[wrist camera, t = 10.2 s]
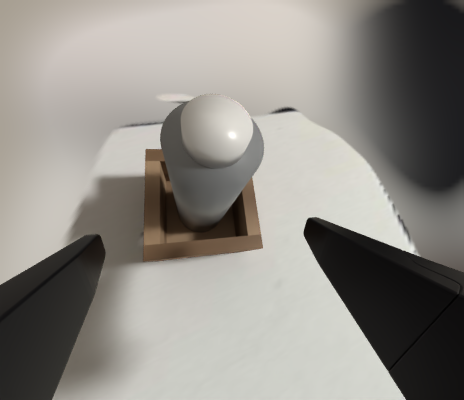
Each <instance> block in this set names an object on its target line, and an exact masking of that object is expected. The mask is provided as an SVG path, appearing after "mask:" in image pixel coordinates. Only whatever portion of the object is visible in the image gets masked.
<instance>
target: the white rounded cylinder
mask: <svg viewBox="0 0 464 400" xmlns="http://www.w3.org/2000/svg"><path fill="white" fill-rule="evenodd" d="M160 141H161V148H162V152H163V155H164V159H165V163H166V167H167V171H168V175H169V178H170V182H171V186H172V190H173V194H174V198H175V202H176V205H177V209H178V213H179V217H180V220H181V222H182V223H183V224H184V226H186V227H187V228H188V229H190V230H192V231H195V232H206V231H209V230H211V229H213V228H214V227H216V226H217V224H218V223H219V222H220V220H221V219H222V218H223V216H224V215H225V213H226V212H227V211H228V209H229V208H230V207H231V205H232V204H233V202H234V201H235V200H236V198H237V197H238V195H239V194H240V193H241V191H242V190H243V188H244V187H245V186H246V184H247V183H248V182H249V180H250V179H251V177H252V176H253V175H254V173H255V172H256V170H257V169H258V167H259V166H260V164H261V161H262V158H263V153H264V143H263V138H262V135H261V132H260V130H259V128H258V126H257V125H256V123H255V122H254V121H253V119H252V118H251V117H250V115H249V114H248V112H247V111H246V109H245V108H243V106H242V105H240V104H239V103H238V102H236V101H235V100H233V99H231V98H229V97H226V96H223V95H218V94H206V95H201V96H198V97H196V98H194V99H192V100H191V101H188V102H185V103H183V104H181V105H179V106H178V107H177V108H175V109H174V110H173V111H172V112H171V113H170V114H169V115H168V116H167V118H166V119H165V121H164V123H163V126H162V129H161V134H160Z"/></svg>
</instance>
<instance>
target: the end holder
mask: <svg viewBox="0 0 464 400" xmlns="http://www.w3.org/2000/svg"><path fill="white" fill-rule="evenodd" d="M261 248H263V245H262V238H261V232H260V225H259V219H258V212H257V206H256V199H255V193H254V186H253V180H252V177H251V179H250V180H249V182H248V183H247V184H246V186H245V187H244V188H243V190H242V191H241V193H240V194H239V195H238V197H237V198H236V200H235V201H234V202H233V204H232V205H231V207H230V208H229V209H228V211H227V212H226V213H225V215H224V216H223V218H222V219H221V220H220V222H219V223H218V224H217V226H216V227H214V228H213V229H211V230H209V231H206V232H195V231H192V230H190V229H188V228H187V227H186V226H184V224H183V223H182V222H181V220H180V217H179V213H178V209H177V205H176V202H175V198H174V194H173V190H172V186H171V182H170V178H169V175H168V171H167V167H166V163H165V159H164V155H163V152H162V149H146V157H145V203H144V249H143V262H144V261H163V260H172V259H180V258H189V257H198V256H207V255H216V254H225V253H234V252H243V251H249V250H255V249H261Z"/></svg>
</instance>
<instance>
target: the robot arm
mask: <svg viewBox="0 0 464 400" xmlns="http://www.w3.org/2000/svg"><path fill="white" fill-rule="evenodd" d="M304 237H305V239H306V241H307V243H308V245H309V247H310V249H311V250H312V252H313V254H314V256H315V258H316V260H317V262H318V264H319V265H320V267H321V268H322V270H323V272H324V273H325V275H326V276H327V278H328V279H329V281H330V282H331V284H332V285H333V287H334V289H335V290H336V292H337V293H338V295H339V296H340V298H341V299H342V301H343V302H344V304H345V306H346V307H347V309H348V310H349V312H350V313H351V315H352V316H353V318H354V319H355V321H356V323H357V324H358V326H359V327H360V329H361V330H362V332H363V333H364V335H365V336H366V338H367V340H368V341H369V343H370V344H371V346H372V347H373V349H374V350H375V352H376V354H377V355H378V357H379V358H380V360H381V361H382V363H383V364H384V366H385V367H386V369H387V370H388V371H389V374H390V375H391V377H392V379H393V380H394V382H395V383H396V385H397V386H398V388H399V389H400V391H401V393H402V394H403V396H404V397H405V399H406V400H464V272H461V271H458V270H455V269H452V268H449V267H447V266H444V265H441V264H438V263H435V262H433V261H430V260H427V259H424V258H422V257H419V256H417V255H414V254H411V253H409V252H406V251H402V250H401V249H398V248H396V247H393V246H390V245H388V244H385V243H383V242H380V241H377V240H375V239H372V238H369V237H367V236H364V235H362V234H359V233H356V232H354V231H351V230H349V229H346V228H343V227H341V226H338V225H336V224H333V223H330V222H328V221H325V220H323V219H320V218H317V217H312V218H308V219H307V222H306V225H305V229H304ZM104 259H105V249H104V245H103V242H102V239H101V236H100V235H98V234H93V235H85V236H84V237H82V238H80V239H78V240H77V241H75V242H73V243H72V244H70V245H68V246H66V247H65V248H63V249H61V250H60V251H58V252H56V253H55V254H53V255H51V256H49V257H48V258H46V259H44V260H42V261H41V262H39V263H37V264H36V265H34V266H32V267H31V268H29V269H27V270H25V271H24V272H22V273H20V274H18V275H17V276H15V277H13V278H12V279H10V280H8V281H6V282H5V283H3V284H1V285H0V400H52V398H53V396H54V394H55V391H56V389H57V386H58V384H59V381H60V379H61V376H62V374H63V371H64V369H65V366H66V364H67V362H68V359H69V357H70V354H71V352H72V349H73V347H74V344H75V342H76V339H77V337H78V334H79V332H80V329H81V327H82V325H83V322H84V320H85V317H86V315H87V312H88V310H89V307H90V305H91V302H92V300H93V297H94V294H95V291H96V288H97V284H98V281H99V277H100V273H101V270H102V266H103V263H104Z"/></svg>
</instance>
